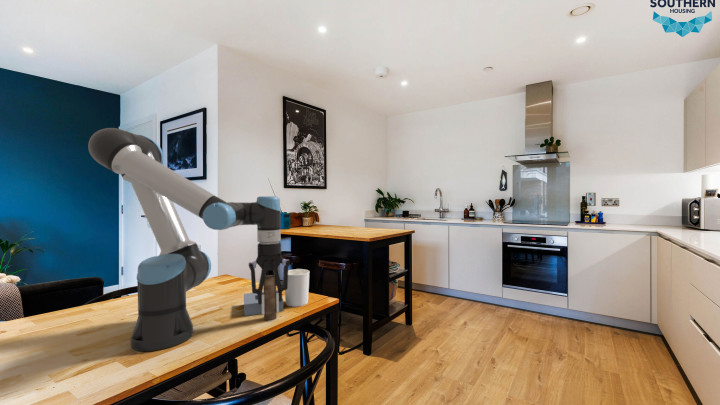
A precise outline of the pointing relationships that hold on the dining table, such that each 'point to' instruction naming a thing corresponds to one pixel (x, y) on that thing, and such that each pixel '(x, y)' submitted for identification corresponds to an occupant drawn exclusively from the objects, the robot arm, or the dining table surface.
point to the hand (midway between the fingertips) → (270, 312)
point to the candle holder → (297, 287)
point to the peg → (270, 298)
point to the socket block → (255, 304)
